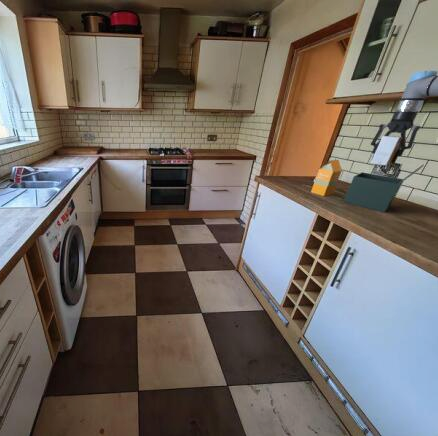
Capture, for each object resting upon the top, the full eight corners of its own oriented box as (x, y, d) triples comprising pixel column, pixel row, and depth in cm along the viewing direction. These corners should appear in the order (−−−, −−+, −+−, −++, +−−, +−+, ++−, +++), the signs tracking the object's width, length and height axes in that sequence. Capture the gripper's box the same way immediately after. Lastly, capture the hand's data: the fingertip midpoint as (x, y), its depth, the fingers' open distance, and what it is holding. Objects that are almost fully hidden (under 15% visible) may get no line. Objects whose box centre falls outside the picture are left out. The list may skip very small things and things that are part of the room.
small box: (386, 165, 110) (399, 137, 104) (370, 163, 115) (382, 135, 110) (393, 164, 113) (407, 136, 108) (377, 161, 119) (389, 135, 113)
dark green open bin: (390, 205, 122) (404, 179, 116) (384, 212, 113) (399, 184, 107) (351, 196, 134) (362, 172, 128) (342, 201, 125) (353, 176, 119)
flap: (404, 177, 116) (405, 178, 115) (399, 182, 107) (400, 183, 107) (423, 164, 110) (424, 164, 110) (419, 168, 101) (420, 168, 101)
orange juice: (310, 192, 140) (322, 159, 131) (319, 190, 143) (331, 158, 134) (323, 196, 133) (337, 162, 124) (332, 194, 137) (346, 161, 128)
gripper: (376, 110, 109) (355, 158, 119) (438, 111, 95) (409, 166, 105) (379, 110, 113) (359, 157, 123) (440, 111, 99) (411, 164, 109)
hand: (382, 161), depth 114 cm, fingers closed on small box, 7 cm apart
